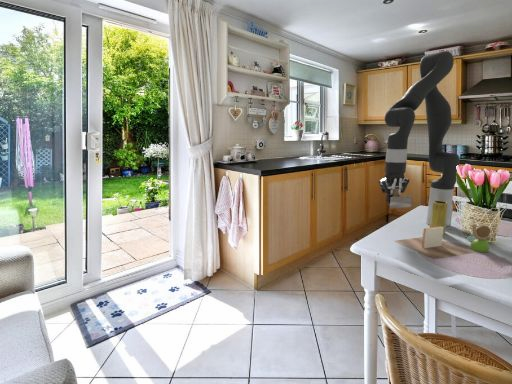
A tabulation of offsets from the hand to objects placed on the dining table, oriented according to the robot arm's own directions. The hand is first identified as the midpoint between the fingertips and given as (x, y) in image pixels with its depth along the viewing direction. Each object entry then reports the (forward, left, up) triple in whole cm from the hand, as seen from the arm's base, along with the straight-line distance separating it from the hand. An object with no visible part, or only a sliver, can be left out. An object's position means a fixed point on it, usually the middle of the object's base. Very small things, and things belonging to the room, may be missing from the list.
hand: (392, 203), depth 127 cm
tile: (-4, +17, -12) cm, 21 cm away
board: (-4, +17, -14) cm, 22 cm away
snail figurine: (-17, +25, -14) cm, 33 cm away
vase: (-20, +5, -14) cm, 25 cm away
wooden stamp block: (0, +1, -1) cm, 2 cm away
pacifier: (-25, +16, -14) cm, 33 cm away
